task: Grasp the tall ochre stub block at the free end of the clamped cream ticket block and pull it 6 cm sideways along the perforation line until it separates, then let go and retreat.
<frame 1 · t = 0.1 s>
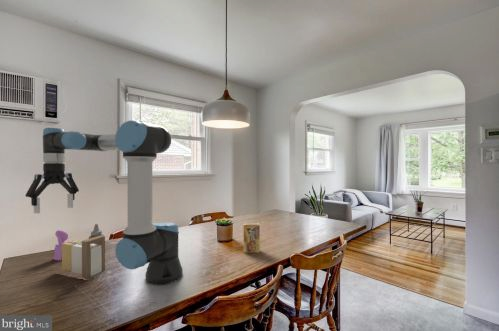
hand: (54, 210, 107), 28 cm above the table, fingers open, 13 cm apart
squeeze bottle: (96, 259, 122), on the table
pink scoop: (65, 258, 124), on the table
mat: (80, 271, 109), on the table
stub: (72, 255, 110), point 7 cm above the table, slide at 0.0 cm
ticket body: (86, 271, 107), resting on mat
candy box: (251, 251, 133), on the table
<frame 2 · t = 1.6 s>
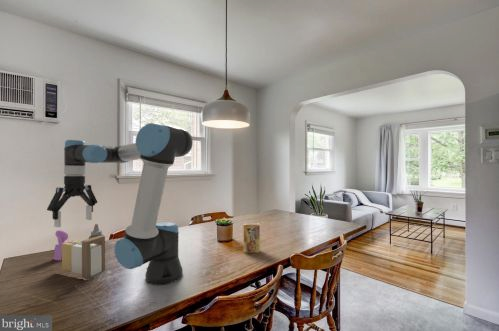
hand: (74, 223, 106), 23 cm above the table, fingers open, 13 cm apart
nothing on the table moved.
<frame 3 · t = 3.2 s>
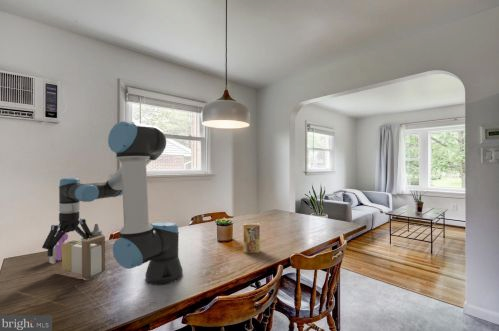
hand: (68, 257, 111), 6 cm above the table, fingers open, 13 cm apart
squeeze bottle: (96, 259, 122), on the table, touching gripper
everything else where it was.
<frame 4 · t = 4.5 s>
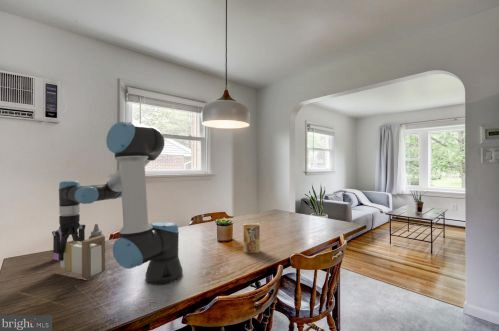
hand: (69, 264, 111), 2 cm above the table, fingers closed on stub, 5 cm apart
squeeze bottle: (96, 259, 122), on the table
stub: (71, 255, 110), point 7 cm above the table, slide at 0.3 cm, touching gripper
everything else where it was.
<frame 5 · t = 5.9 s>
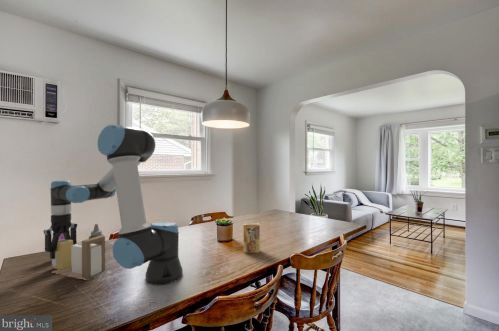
hand: (61, 262, 113), 2 cm above the table, fingers closed on stub, 5 cm apart
stub: (63, 253, 112), point 7 cm above the table, slide at 5.9 cm, touching gripper
everything else where it was.
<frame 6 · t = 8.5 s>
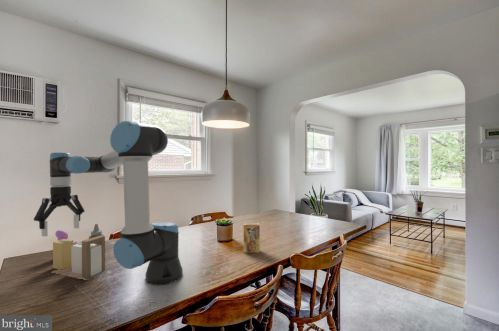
hand: (61, 231, 111), 17 cm above the table, fingers open, 13 cm apart
stub: (63, 253, 112), point 7 cm above the table, slide at 6.0 cm
everything else where it was.
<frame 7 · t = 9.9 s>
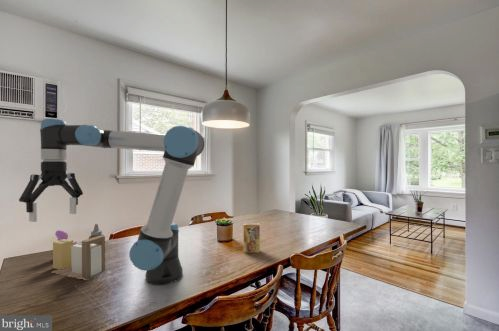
hand: (54, 217, 90), 29 cm above the table, fingers open, 13 cm apart
nothing on the table moved.
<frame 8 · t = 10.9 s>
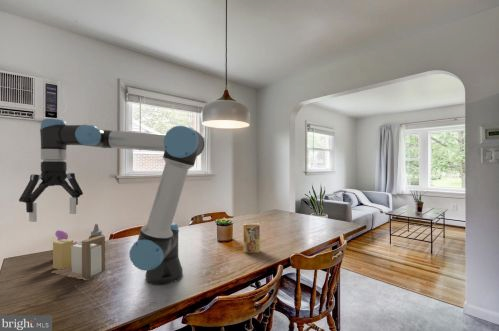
hand: (54, 217, 90), 29 cm above the table, fingers open, 13 cm apart
nothing on the table moved.
at the end: stub slide at 6.0 cm; the gripper is holding nothing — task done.
